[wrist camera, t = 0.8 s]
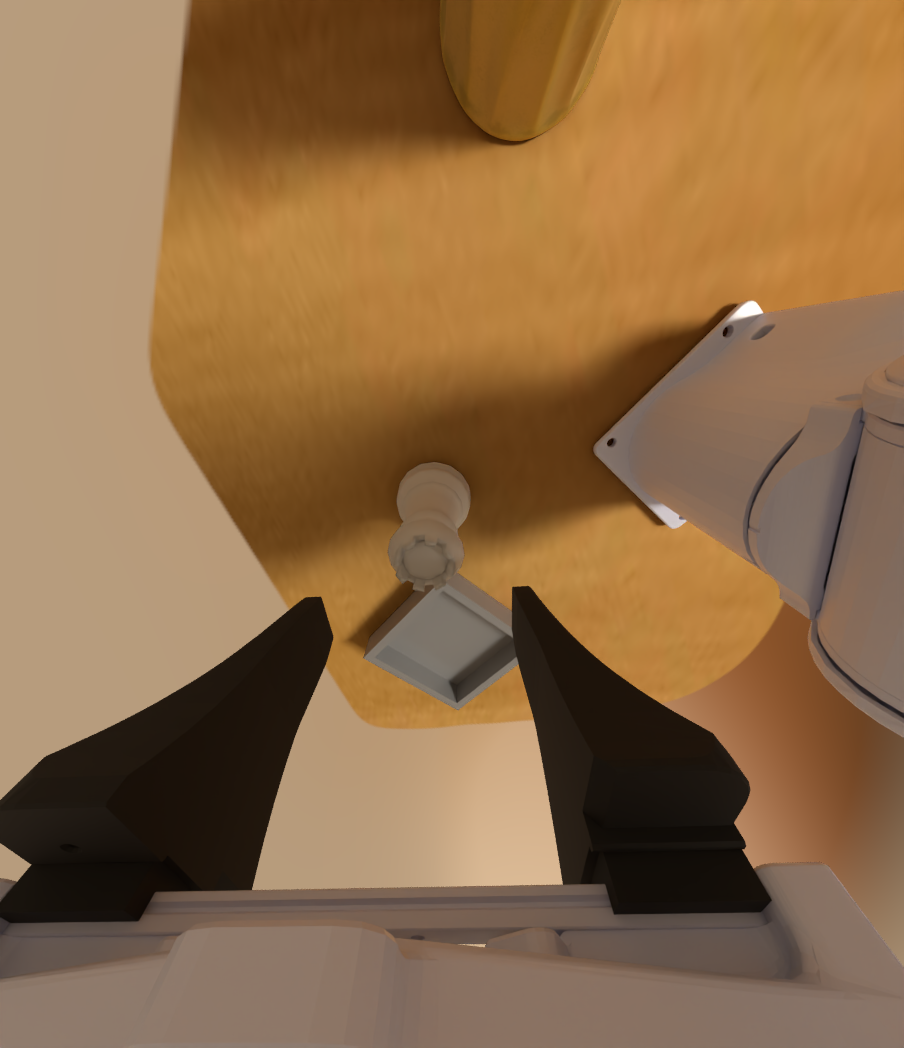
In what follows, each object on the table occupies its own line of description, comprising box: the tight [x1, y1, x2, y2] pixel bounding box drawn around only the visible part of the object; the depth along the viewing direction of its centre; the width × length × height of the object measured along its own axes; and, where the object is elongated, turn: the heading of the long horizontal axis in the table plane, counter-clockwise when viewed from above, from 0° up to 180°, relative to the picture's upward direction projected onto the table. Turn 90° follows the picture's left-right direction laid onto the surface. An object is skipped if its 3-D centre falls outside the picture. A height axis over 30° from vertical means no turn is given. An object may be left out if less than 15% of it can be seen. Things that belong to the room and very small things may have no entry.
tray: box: [363, 573, 518, 710], centre depth 24 cm, size 9×9×2 cm
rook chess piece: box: [388, 462, 471, 592], centre depth 17 cm, size 4×4×8 cm
